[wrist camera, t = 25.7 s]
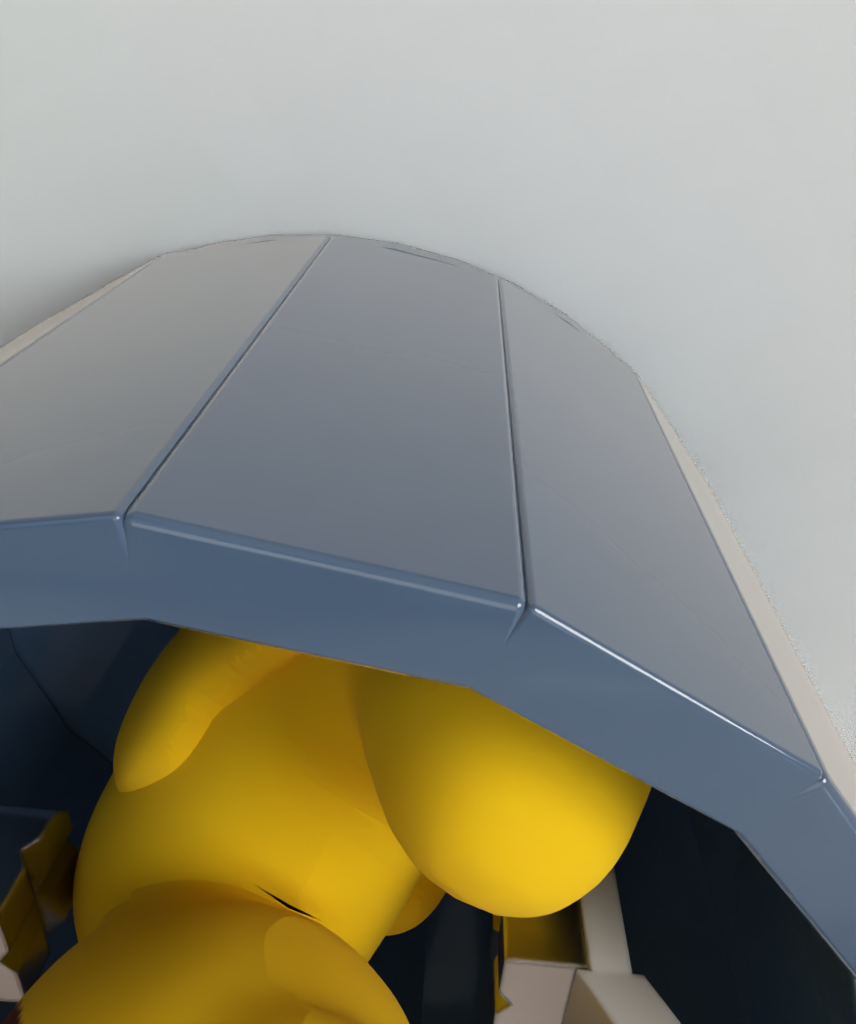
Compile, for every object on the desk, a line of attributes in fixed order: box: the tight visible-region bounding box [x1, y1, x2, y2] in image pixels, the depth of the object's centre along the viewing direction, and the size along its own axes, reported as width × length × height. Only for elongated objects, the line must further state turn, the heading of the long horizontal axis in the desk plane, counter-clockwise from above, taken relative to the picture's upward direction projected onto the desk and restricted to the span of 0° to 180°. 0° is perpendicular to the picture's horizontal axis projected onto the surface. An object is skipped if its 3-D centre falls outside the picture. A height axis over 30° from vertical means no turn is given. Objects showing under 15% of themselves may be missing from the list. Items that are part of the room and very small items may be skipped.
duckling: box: [1, 628, 652, 1024], centre depth 10 cm, size 11×5×10 cm, turn 140°
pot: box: [0, 234, 856, 1024], centre depth 12 cm, size 14×14×8 cm
